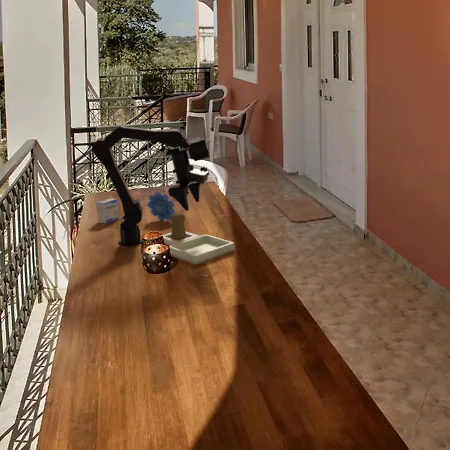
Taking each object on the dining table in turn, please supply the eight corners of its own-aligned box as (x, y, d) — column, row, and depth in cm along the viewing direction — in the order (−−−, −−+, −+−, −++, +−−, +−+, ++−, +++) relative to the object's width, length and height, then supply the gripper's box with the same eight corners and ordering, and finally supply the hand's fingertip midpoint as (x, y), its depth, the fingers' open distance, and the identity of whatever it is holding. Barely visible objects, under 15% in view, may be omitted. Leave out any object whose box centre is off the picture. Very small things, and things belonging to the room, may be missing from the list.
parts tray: (195, 264, 186) (195, 256, 186) (168, 254, 196) (167, 246, 195) (234, 250, 199) (234, 242, 198) (206, 242, 208) (206, 234, 207)
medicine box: (105, 224, 232) (103, 203, 230) (97, 222, 234) (95, 201, 232) (119, 219, 238) (117, 198, 236) (111, 217, 241) (109, 197, 238)
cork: (178, 246, 204) (177, 216, 201) (167, 243, 208) (165, 213, 205) (190, 242, 208) (189, 213, 205) (179, 239, 212) (177, 210, 209)
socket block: (177, 249, 201) (177, 242, 200) (158, 243, 208) (158, 236, 207) (199, 242, 208) (199, 235, 207) (180, 236, 215) (180, 229, 214)
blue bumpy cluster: (144, 222, 233) (142, 194, 229) (150, 218, 239) (148, 190, 235) (172, 224, 230) (170, 195, 226) (177, 219, 236) (176, 191, 233)
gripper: (191, 169, 191) (202, 213, 196) (212, 154, 207) (222, 195, 212) (162, 173, 196) (173, 216, 200) (185, 158, 212) (195, 198, 216)
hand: (192, 206), depth 207 cm, fingers open, 9 cm apart
